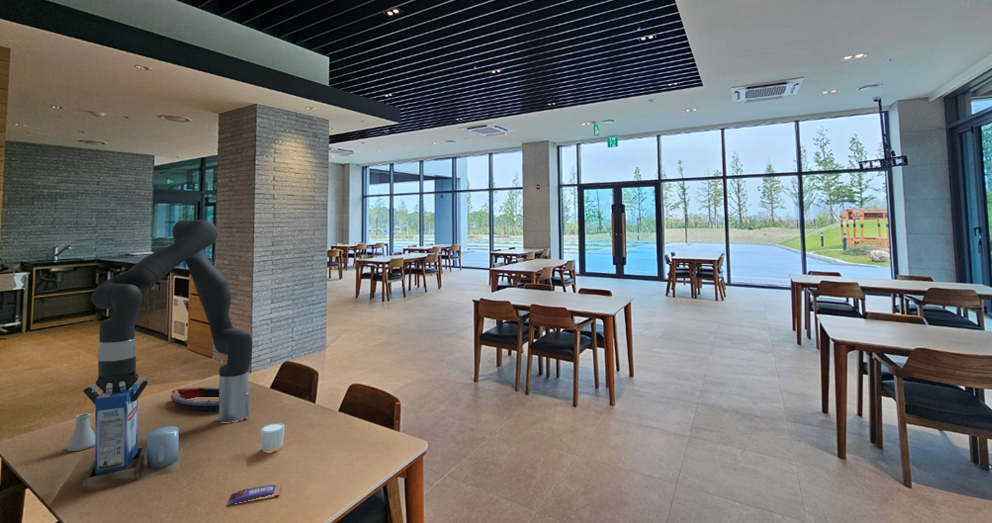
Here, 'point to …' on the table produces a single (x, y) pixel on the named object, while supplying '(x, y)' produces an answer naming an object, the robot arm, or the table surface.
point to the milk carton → (115, 430)
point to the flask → (81, 434)
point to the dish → (187, 393)
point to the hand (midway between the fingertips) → (117, 418)
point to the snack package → (251, 494)
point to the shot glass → (272, 436)
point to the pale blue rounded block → (162, 447)
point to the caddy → (126, 472)
